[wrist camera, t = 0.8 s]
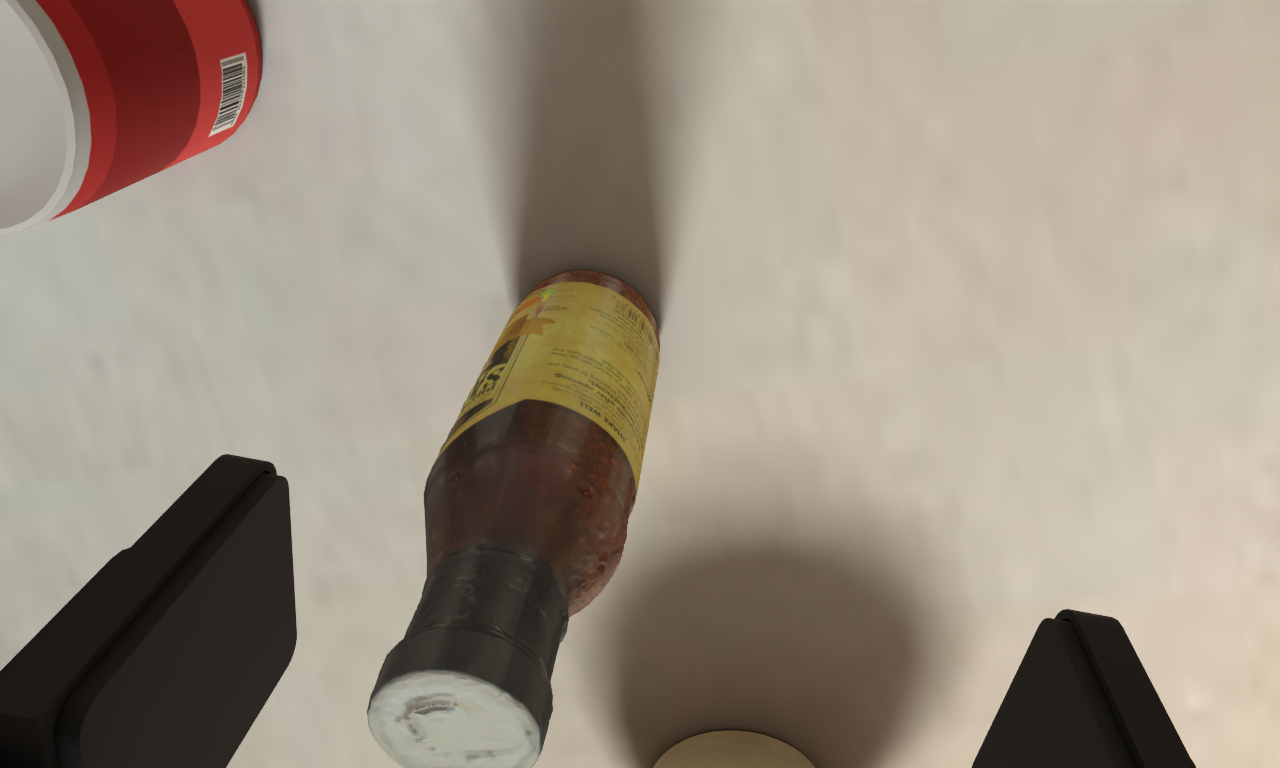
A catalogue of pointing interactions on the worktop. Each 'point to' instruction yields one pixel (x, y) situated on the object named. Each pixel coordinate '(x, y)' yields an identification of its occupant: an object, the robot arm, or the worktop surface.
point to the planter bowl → (732, 752)
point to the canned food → (114, 95)
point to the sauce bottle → (521, 525)
